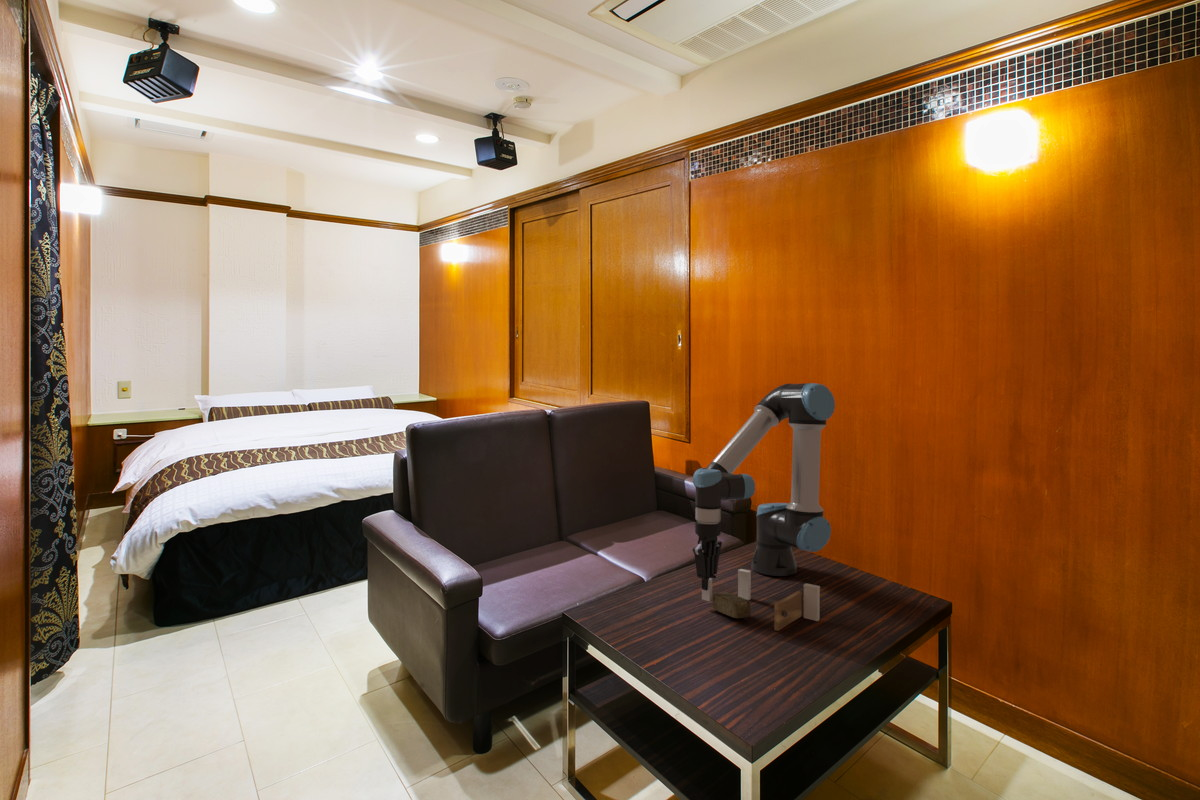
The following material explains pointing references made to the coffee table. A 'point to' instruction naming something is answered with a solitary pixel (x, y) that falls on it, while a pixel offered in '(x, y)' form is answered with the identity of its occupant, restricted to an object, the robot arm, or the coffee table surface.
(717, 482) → the robot arm
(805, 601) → the wall frame
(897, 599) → the coffee table surface
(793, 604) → the door
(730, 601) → the stone block
